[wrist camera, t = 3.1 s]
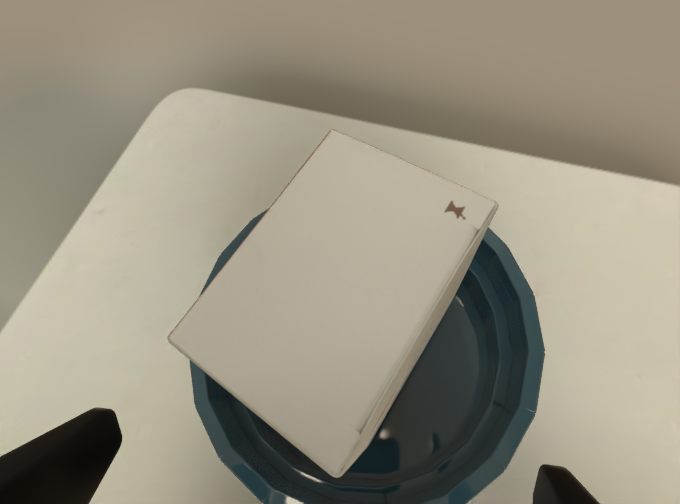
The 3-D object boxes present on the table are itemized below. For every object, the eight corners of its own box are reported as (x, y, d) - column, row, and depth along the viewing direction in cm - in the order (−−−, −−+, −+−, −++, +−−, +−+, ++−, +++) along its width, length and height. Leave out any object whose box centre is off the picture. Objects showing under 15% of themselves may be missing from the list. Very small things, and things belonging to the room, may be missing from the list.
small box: (360, 254, 21) (332, 119, 12) (451, 306, 20) (506, 195, 10) (273, 380, 19) (155, 338, 10) (367, 451, 17) (336, 485, 8)
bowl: (577, 378, 18) (631, 364, 14) (326, 585, 16) (302, 642, 12) (389, 181, 23) (388, 130, 19) (188, 315, 22) (141, 290, 17)
